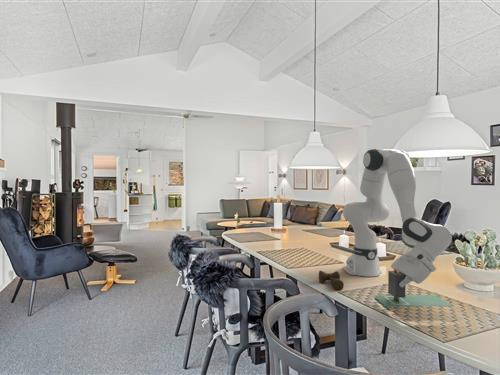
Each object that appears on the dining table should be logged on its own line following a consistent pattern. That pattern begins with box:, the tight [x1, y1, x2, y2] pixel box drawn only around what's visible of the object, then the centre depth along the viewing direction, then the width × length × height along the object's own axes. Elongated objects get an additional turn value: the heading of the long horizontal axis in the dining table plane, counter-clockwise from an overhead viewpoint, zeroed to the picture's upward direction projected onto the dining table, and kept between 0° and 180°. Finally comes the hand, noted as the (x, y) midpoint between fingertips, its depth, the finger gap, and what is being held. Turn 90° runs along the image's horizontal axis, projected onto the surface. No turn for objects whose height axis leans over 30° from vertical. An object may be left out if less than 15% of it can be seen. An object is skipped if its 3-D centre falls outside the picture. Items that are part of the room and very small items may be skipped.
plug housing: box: [387, 269, 406, 298], centre depth 138 cm, size 7×4×10 cm, turn 1°
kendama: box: [318, 270, 345, 291], centre depth 166 cm, size 6×10×20 cm
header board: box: [373, 294, 454, 311], centre depth 139 cm, size 13×26×2 cm, turn 91°
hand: (395, 283), depth 138 cm, fingers closed on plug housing, 7 cm apart
